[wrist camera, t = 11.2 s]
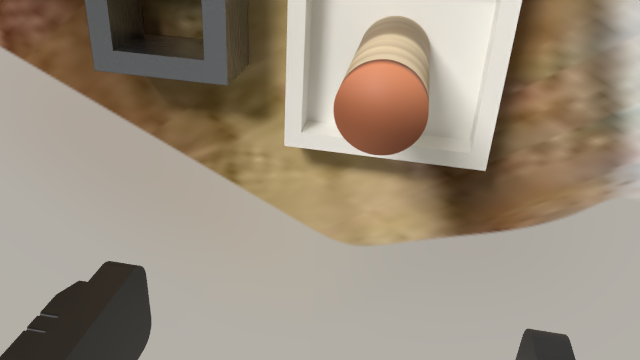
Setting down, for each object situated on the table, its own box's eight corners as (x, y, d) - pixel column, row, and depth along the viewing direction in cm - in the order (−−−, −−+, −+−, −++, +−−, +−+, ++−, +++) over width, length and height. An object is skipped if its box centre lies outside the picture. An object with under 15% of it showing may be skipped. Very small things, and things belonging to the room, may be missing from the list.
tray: (299, -72, 31) (289, -69, 29) (526, -56, 30) (532, -51, 27) (293, 129, 37) (284, 145, 35) (482, 152, 35) (485, 170, 33)
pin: (363, 12, 32) (337, 60, 23) (435, 19, 31) (435, 71, 23) (357, 80, 34) (330, 149, 25) (424, 88, 33) (420, 161, 25)
